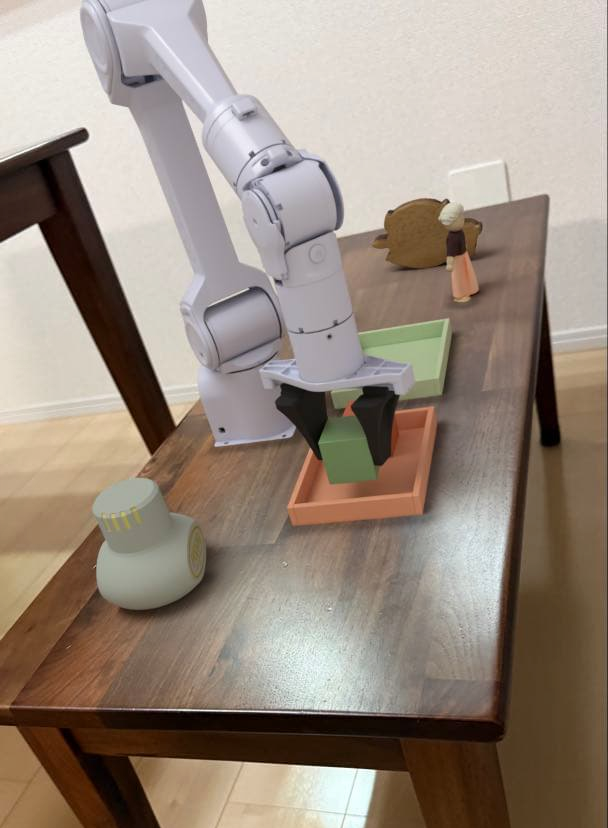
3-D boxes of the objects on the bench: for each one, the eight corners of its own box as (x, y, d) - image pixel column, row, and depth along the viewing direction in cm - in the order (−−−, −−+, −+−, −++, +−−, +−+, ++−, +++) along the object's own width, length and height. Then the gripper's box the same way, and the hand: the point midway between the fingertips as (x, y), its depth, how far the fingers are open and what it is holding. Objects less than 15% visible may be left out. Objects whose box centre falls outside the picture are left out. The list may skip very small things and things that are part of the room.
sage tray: (335, 413, 96) (330, 392, 94) (357, 352, 108) (353, 333, 107) (442, 399, 92) (439, 377, 90) (452, 337, 104) (449, 317, 103)
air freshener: (133, 558, 82) (93, 471, 76) (214, 542, 80) (179, 453, 75) (108, 633, 73) (61, 541, 67) (199, 617, 71) (158, 522, 66)
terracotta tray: (293, 530, 78) (286, 508, 77) (325, 441, 91) (319, 420, 89) (423, 519, 75) (418, 495, 73) (438, 428, 87) (434, 405, 86)
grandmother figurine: (478, 306, 110) (465, 208, 103) (449, 311, 111) (433, 214, 104) (480, 285, 116) (467, 191, 109) (452, 290, 117) (438, 197, 110)
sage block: (329, 485, 77) (317, 443, 75) (338, 459, 81) (327, 418, 78) (377, 480, 76) (366, 437, 73) (383, 454, 79) (374, 412, 77)
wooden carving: (487, 250, 127) (478, 181, 121) (485, 260, 124) (476, 190, 118) (381, 268, 132) (367, 204, 127) (376, 279, 129) (362, 213, 123)
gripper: (418, 296, 69) (443, 439, 76) (274, 300, 76) (311, 430, 84) (379, 335, 64) (410, 483, 72) (231, 335, 72) (273, 468, 80)
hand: (354, 457), depth 78 cm, fingers closed on sage block, 5 cm apart
